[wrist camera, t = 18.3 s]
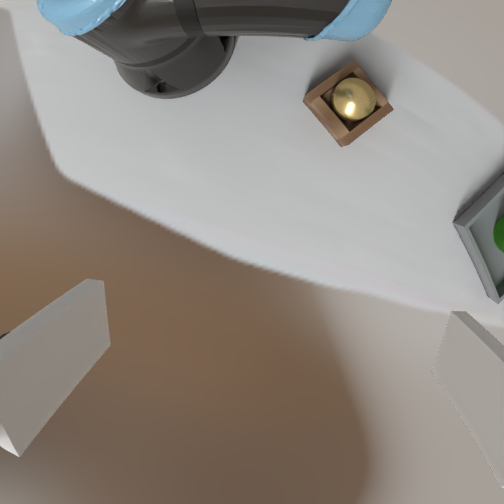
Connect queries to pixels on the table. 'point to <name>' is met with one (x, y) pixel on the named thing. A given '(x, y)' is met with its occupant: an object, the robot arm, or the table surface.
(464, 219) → the tray
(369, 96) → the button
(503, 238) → the cup
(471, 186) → the table surface
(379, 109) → the block
